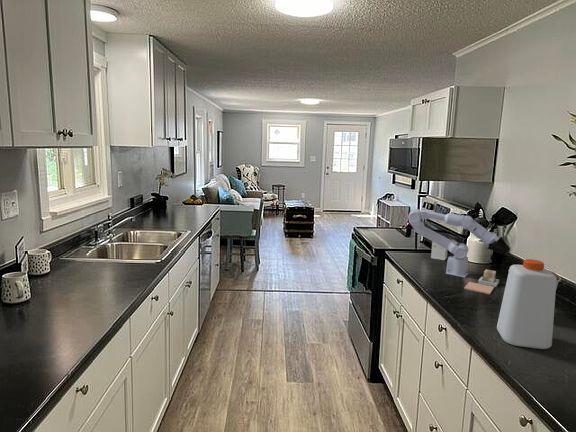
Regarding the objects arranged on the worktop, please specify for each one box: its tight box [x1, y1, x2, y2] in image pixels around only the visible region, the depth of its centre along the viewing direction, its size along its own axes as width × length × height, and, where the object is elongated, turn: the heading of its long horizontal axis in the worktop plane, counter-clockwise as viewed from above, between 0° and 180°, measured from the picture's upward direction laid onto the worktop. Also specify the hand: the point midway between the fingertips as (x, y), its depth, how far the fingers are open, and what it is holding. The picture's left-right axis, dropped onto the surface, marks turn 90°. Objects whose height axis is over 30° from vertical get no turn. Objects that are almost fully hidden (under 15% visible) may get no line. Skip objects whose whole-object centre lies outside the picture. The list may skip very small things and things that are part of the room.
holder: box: [477, 275, 500, 288], centre depth 204 cm, size 8×8×2 cm
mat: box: [463, 281, 495, 295], centre depth 195 cm, size 11×11×1 cm
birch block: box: [483, 269, 497, 283], centre depth 203 cm, size 4×4×6 cm
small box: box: [430, 241, 449, 261], centre depth 244 cm, size 8×6×10 cm
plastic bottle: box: [496, 258, 557, 350], centre depth 143 cm, size 15×15×28 cm
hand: (506, 251), depth 204 cm, fingers open, 7 cm apart
